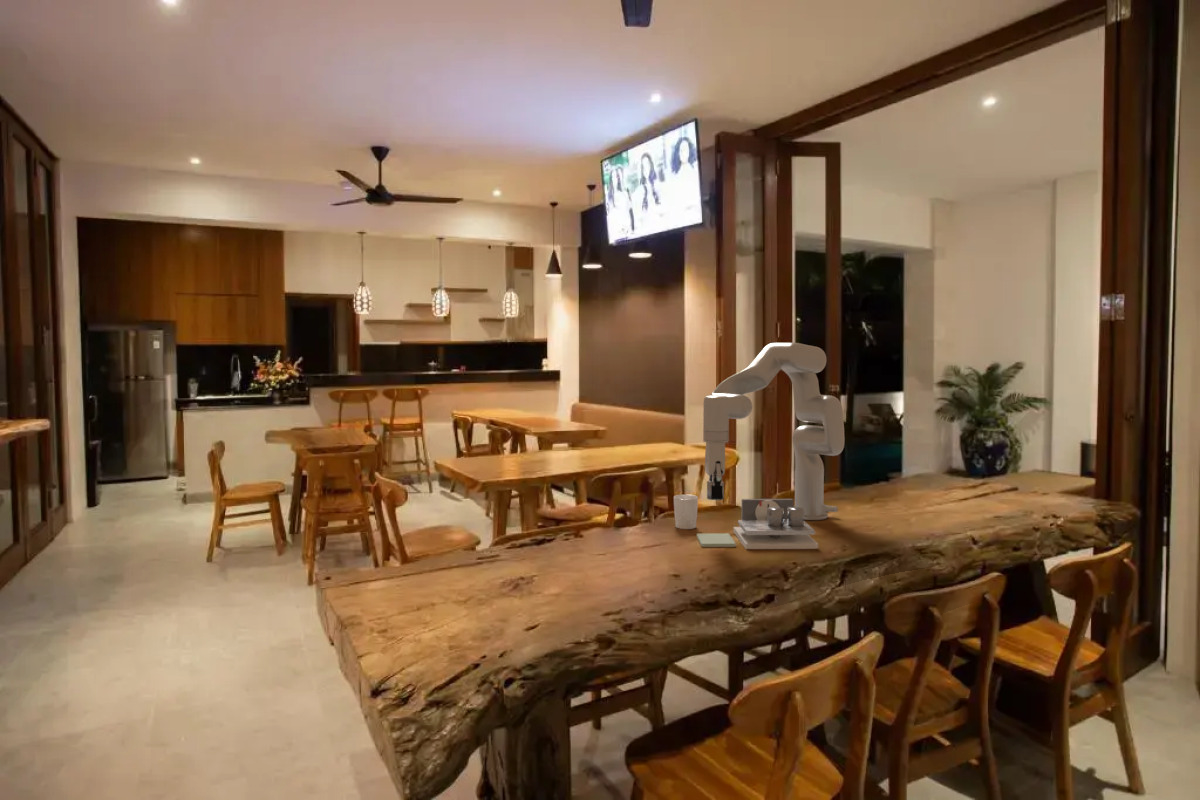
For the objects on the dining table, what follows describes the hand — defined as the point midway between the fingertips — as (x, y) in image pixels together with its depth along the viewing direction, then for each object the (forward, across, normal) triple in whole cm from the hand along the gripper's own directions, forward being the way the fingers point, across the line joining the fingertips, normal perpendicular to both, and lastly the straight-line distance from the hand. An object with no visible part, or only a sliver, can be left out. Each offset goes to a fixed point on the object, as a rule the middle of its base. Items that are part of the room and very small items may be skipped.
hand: (715, 496), depth 226 cm
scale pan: (+10, 0, +18) cm, 21 cm away
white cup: (+14, -19, -7) cm, 25 cm away
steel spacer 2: (+9, 0, +24) cm, 26 cm away
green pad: (+14, 0, 0) cm, 14 cm away
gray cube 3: (+1, 0, 0) cm, 1 cm away
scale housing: (+14, -2, +18) cm, 23 cm away
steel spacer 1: (+9, 0, +18) cm, 20 cm away
